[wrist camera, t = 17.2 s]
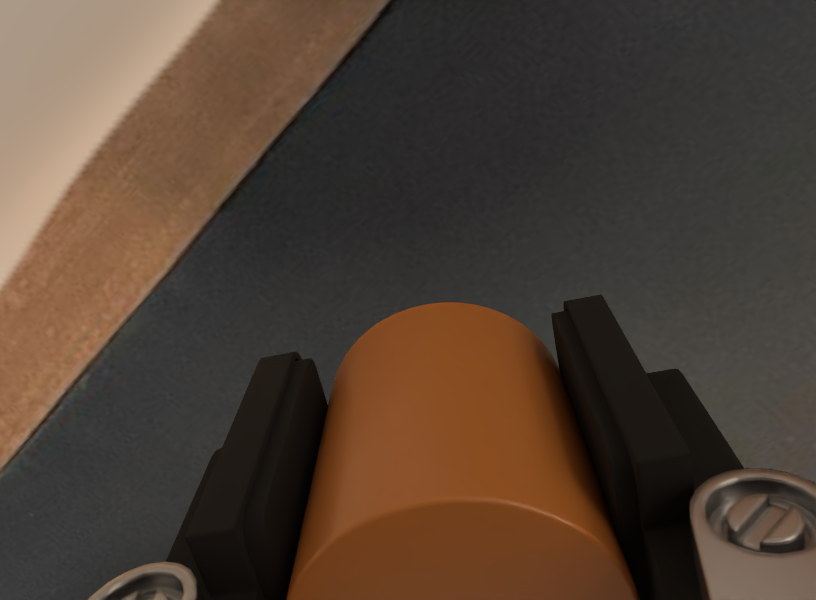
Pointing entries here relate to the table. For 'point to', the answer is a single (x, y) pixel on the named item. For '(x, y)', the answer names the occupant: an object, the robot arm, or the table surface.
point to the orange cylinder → (455, 472)
